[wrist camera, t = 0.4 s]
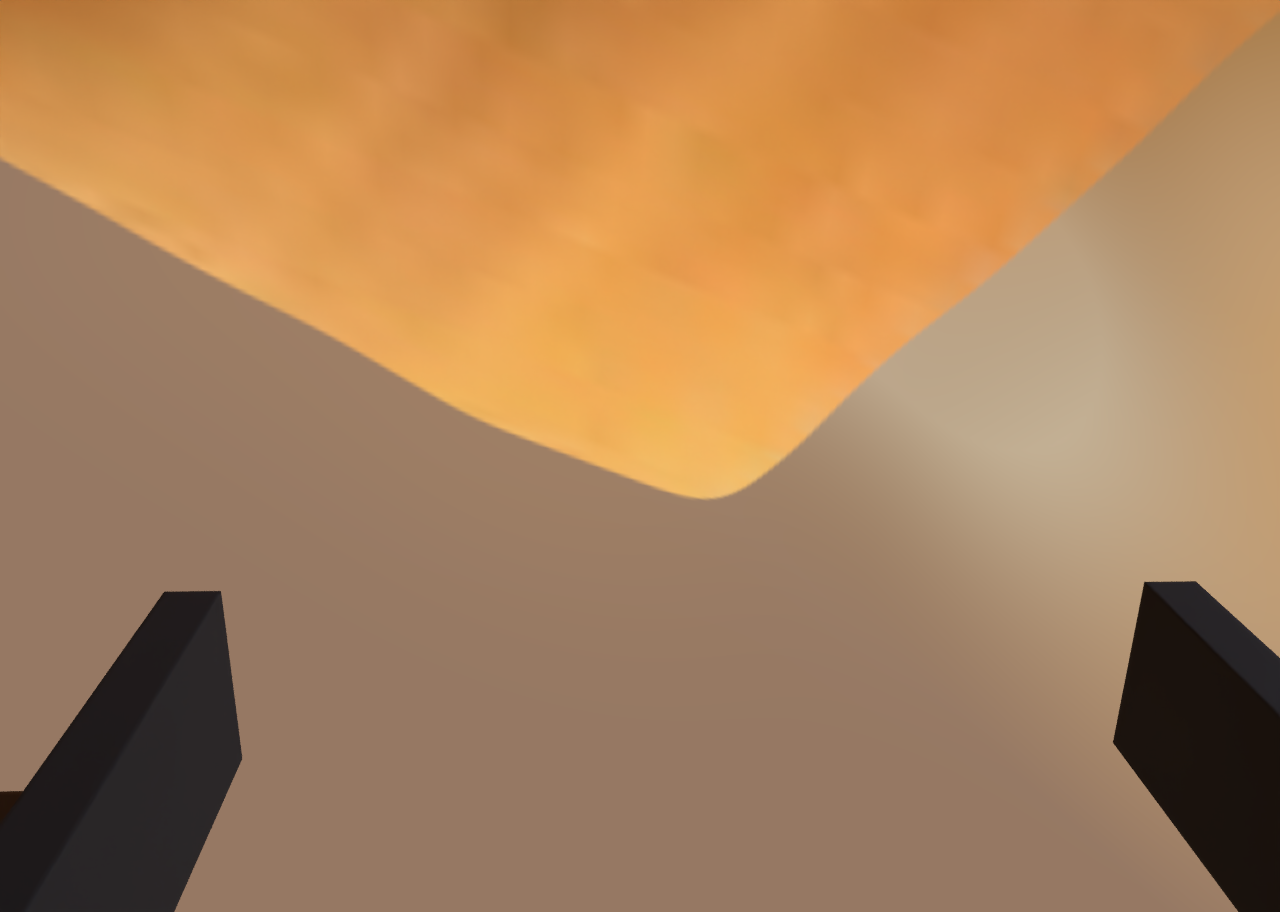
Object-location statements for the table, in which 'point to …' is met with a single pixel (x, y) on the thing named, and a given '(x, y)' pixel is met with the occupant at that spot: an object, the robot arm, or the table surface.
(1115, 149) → the table surface
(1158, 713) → the robot arm
